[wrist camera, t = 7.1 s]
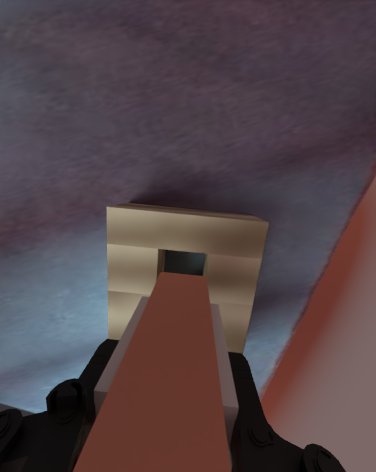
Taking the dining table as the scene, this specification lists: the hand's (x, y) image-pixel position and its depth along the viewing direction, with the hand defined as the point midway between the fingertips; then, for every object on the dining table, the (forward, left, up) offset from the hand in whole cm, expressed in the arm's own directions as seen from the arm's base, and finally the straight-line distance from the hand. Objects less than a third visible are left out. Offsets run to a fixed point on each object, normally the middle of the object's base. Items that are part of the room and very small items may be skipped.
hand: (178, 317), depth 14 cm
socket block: (+3, 0, -12) cm, 13 cm away
